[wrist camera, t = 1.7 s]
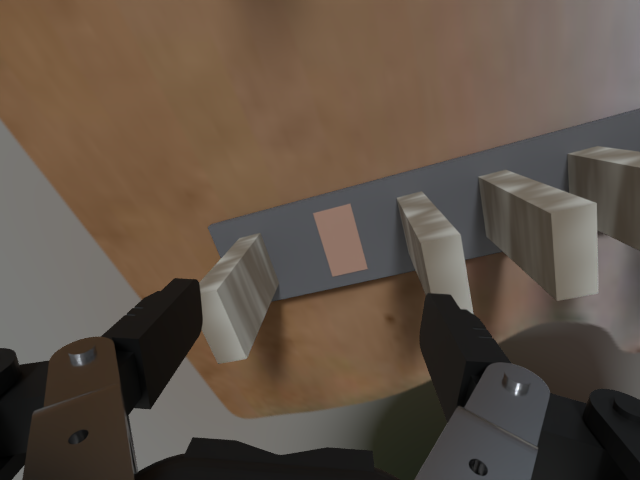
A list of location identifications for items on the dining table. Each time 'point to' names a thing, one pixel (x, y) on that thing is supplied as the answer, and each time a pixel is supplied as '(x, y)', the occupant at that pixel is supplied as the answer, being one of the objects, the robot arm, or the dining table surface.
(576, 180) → the ivory domino
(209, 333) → the domino
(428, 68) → the dining table surface
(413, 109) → the dining table surface
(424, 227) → the ivory domino
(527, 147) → the domino board
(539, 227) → the ivory domino
